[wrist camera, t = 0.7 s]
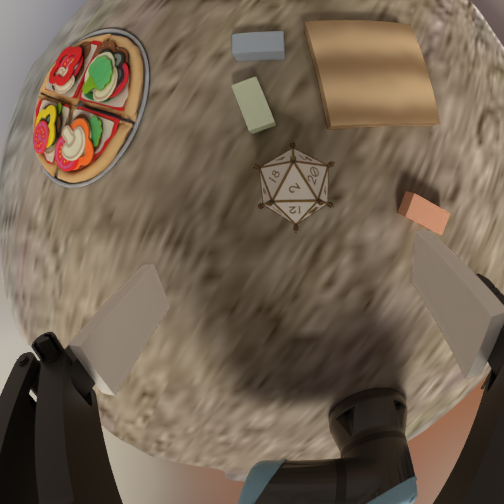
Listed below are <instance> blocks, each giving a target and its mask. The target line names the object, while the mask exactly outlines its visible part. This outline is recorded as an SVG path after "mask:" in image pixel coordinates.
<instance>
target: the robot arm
mask: <svg viewBox="0 0 504 504" xmlns="http://www.w3.org/2000/svg"><path fill="white" fill-rule="evenodd" d="M412 284H413V285H414V287H415V288H416V290H417V291H418V293H419V295H420V296H421V298H422V299H423V301H424V303H425V304H426V306H427V308H428V309H429V311H430V313H431V314H432V316H433V318H434V319H435V321H436V323H437V325H438V326H439V328H440V330H441V332H442V334H443V335H444V337H445V339H446V341H447V343H448V345H449V347H450V348H451V350H452V352H453V354H454V356H455V358H456V360H457V362H458V364H459V366H460V368H461V371H462V373H463V375H464V377H465V379H468V378H471V377H474V376H476V375H479V374H481V373H482V372H483V370H484V368H485V366H486V364H487V362H488V363H489V365H490V366H491V368H492V369H491V370H490V373H489V374H488V376H487V378H486V380H485V382H484V383H483V385H482V387H481V389H483V388H484V387H485V389H484V392H483V396H482V399H481V403H480V406H479V409H478V411H477V414H476V417H475V420H474V423H473V425H472V428H471V431H470V433H469V435H468V438H467V440H466V443H465V445H464V448H463V450H462V452H461V454H460V456H459V458H458V460H457V462H456V464H455V466H454V468H453V470H452V472H451V474H450V476H449V478H448V479H447V481H446V483H445V485H444V486H443V488H442V490H441V492H440V493H439V495H438V496H437V498H436V500H435V501H434V503H433V504H504V295H503V294H502V293H500V291H499V290H498V289H497V288H495V286H494V285H493V283H492V282H491V281H490V280H489V279H487V278H486V277H484V276H482V275H480V274H479V273H478V274H475V273H474V272H473V271H472V270H471V269H470V268H469V267H468V266H467V265H466V264H465V263H464V262H463V261H462V260H461V259H460V258H459V257H458V256H457V255H455V254H454V253H453V252H452V251H451V250H450V249H449V248H448V247H447V246H446V245H445V244H444V243H443V242H441V241H440V240H439V239H438V238H437V237H436V236H435V235H434V234H432V233H431V232H430V231H429V230H423V231H415V242H414V260H413V273H412ZM169 308H170V304H169V302H168V299H167V297H166V294H165V292H164V289H163V287H162V284H161V281H160V279H159V276H158V273H157V270H156V268H155V265H154V264H147V265H142V266H141V267H140V268H139V269H138V270H137V271H136V272H135V273H134V274H133V275H132V276H131V277H130V278H129V279H128V280H127V281H126V282H125V283H124V284H123V285H122V286H121V287H120V288H119V289H118V291H117V292H116V293H115V294H114V295H113V296H112V297H111V298H110V299H109V300H108V301H107V302H106V303H105V304H104V305H103V306H102V307H101V308H100V310H99V311H98V312H97V313H96V314H95V315H94V316H93V317H92V318H91V319H90V320H89V322H88V323H87V324H86V325H85V326H84V327H83V328H82V329H81V331H80V332H79V333H78V334H77V335H76V336H75V337H74V339H73V340H72V341H71V342H70V343H69V344H68V346H67V348H66V349H65V350H64V348H63V347H62V345H61V344H60V342H59V340H58V339H57V337H56V335H55V334H54V333H53V332H47V333H44V334H42V335H41V336H39V337H38V338H37V339H36V340H35V341H34V342H33V344H32V346H31V347H32V348H33V350H34V351H35V353H36V354H37V356H38V357H39V359H40V361H38V360H37V359H36V357H35V356H34V354H33V353H31V352H27V353H24V354H22V355H21V356H20V357H19V358H18V359H17V361H16V363H15V364H14V367H13V369H12V371H11V373H10V375H9V377H8V379H7V382H6V384H5V386H4V389H3V391H2V393H1V396H0V504H123V503H122V500H121V498H120V495H119V492H118V489H117V486H116V482H115V479H114V476H113V473H112V470H111V466H110V462H109V458H108V454H107V450H106V446H105V442H104V437H103V432H102V428H101V422H100V417H99V411H98V405H97V398H96V393H95V391H94V390H93V389H92V388H93V386H94V385H95V384H96V385H97V386H98V388H99V389H100V390H101V392H102V393H105V394H109V395H113V396H115V395H116V393H117V392H118V390H119V388H120V387H121V385H122V383H123V382H124V380H125V378H126V377H127V375H128V373H129V372H130V370H131V368H132V367H133V365H134V363H135V362H136V360H137V359H138V357H139V355H140V354H141V352H142V351H143V349H144V347H145V346H146V344H147V343H148V341H149V339H150V338H151V336H152V335H153V333H154V331H155V330H156V328H157V327H158V325H159V324H160V322H161V321H162V319H163V317H164V316H165V314H166V313H167V311H168V310H169ZM30 389H31V390H32V391H33V392H34V394H35V395H36V396H37V402H35V401H34V399H33V398H32V397H31V396H30V395H29V392H30ZM406 420H407V405H406V402H405V399H404V397H403V395H402V394H401V393H400V392H398V391H396V390H393V389H387V388H378V389H371V390H366V391H363V392H360V393H357V394H355V395H352V396H350V397H348V398H347V399H345V400H343V401H342V402H341V403H339V404H338V405H337V406H336V407H335V408H334V409H333V411H332V412H331V414H330V417H329V427H330V432H331V434H332V436H333V438H334V440H335V442H336V444H337V446H338V448H339V450H340V453H341V458H339V459H324V460H301V461H287V459H283V460H265V461H260V462H258V463H256V464H255V465H254V466H253V467H252V469H251V470H250V472H249V474H248V476H247V478H246V480H245V483H244V485H243V488H242V491H241V495H240V498H239V502H238V504H413V503H414V502H415V500H416V498H417V485H416V480H417V478H416V476H415V473H414V469H413V464H412V460H411V456H410V452H409V448H408V444H407V440H406V437H405V429H406Z"/></svg>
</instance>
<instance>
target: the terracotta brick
mask: <svg viewBox="0 0 504 504" xmlns="http://www.w3.org/2000/svg"><path fill="white" fill-rule="evenodd" d="M397 213H399V214H401V215H403V216H405V217H407V218H409V219H411V220H413V221H415V222H417V223H419V224H421V225H423V226H425V227H427V228H429V229H430V230H432V231H434V232H436V233H438V234H440V235H441V236H442V233H443V231H444V229H445V226H446V224H447V221H448V218H449V216H450V213H448V212H447V211H445V210H443V209H441V208H440V207H438V206H436V205H435V204H433V203H431V202H429V201H428V200H426V199H424V198H422V197H420V196H419V195H417V194H415V193H412V192H408V191H406V192H405V194H404V197H403V200H402V202H401V205H400V207H399V210H398V212H397Z"/></svg>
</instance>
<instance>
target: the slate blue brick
mask: <svg viewBox="0 0 504 504" xmlns="http://www.w3.org/2000/svg"><path fill="white" fill-rule="evenodd" d="M232 54H233V56H234V58H235V59H236V61H237V62H239V61H253V60H285V42H284V33H283V31H269V32H250V33H238V34H232Z"/></svg>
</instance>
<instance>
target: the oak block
mask: <svg viewBox="0 0 504 504" xmlns="http://www.w3.org/2000/svg"><path fill="white" fill-rule="evenodd" d="M304 32H305V36H306V39H307V42H308V46H309V49H310V53H311V57H312V60H313V64H314V68H315V72H316V76H317V80H318V84H319V89H320V93H321V98H322V102H323V107H324V112H325V117H326V122H327V127H328V130H331V129H343V128H357V127H377V126H433V125H437V124H440V121H439V116H438V111H437V106H436V102H435V98H434V94H433V90H432V86H431V82H430V79H429V75H428V72H427V68H426V65H425V62H424V59H423V56H422V53H421V50H420V47H419V45H418V42H417V39H416V37H415V34H414V32H413V29H412V27H411V25H410V24H403V23H394V22H384V21H369V20H320V21H305V31H304Z"/></svg>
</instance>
